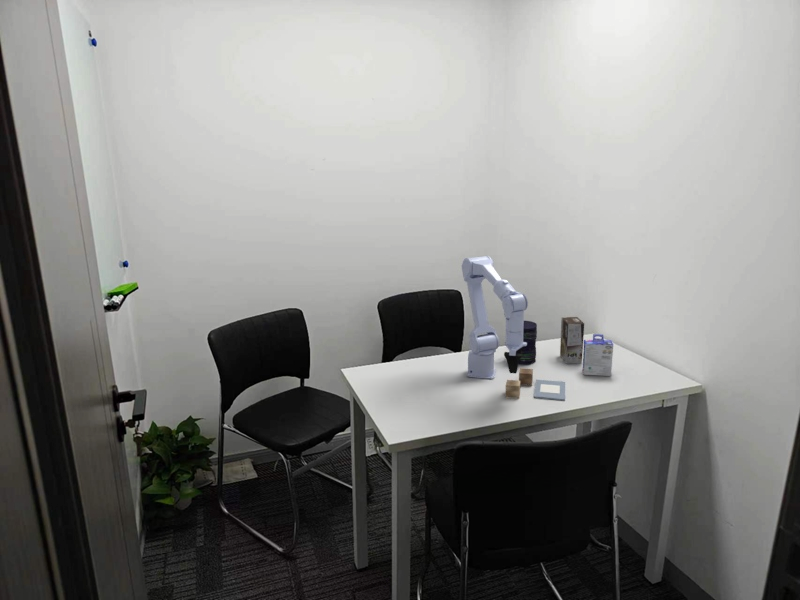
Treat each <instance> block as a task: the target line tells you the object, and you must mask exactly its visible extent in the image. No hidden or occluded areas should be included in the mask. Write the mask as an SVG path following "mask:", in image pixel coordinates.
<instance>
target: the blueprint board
mask: <svg viewBox="0 0 800 600" xmlns="http://www.w3.org/2000/svg"><path fill="white" fill-rule="evenodd" d="M533 398H534V399H540V400H541V399H542V400H553V401H561V402H562V401H563V402H564V401H566V381H559V380H545V379H536V380H535V386H534V394H533Z"/></svg>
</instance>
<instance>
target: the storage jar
mask: <svg viewBox="0 0 800 600" xmlns="http://www.w3.org/2000/svg"><path fill="white" fill-rule="evenodd" d="M537 327H538V325H537V323H536V322H534V321H531V320H524V326H523V342H526V343H527V346H524V347H523V349H522V351H521V354H522V356H521V358H520V360H519V364H518V366H519V365H520V366H521V365H522V366H530V365H533V364H535V363H536V361H537V360H536V357H537V347H536V345H537V343H536V341H537V337H538V336H537V335H538V331H537V330H538V329H537Z"/></svg>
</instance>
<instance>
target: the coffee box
mask: <svg viewBox="0 0 800 600" xmlns="http://www.w3.org/2000/svg"><path fill="white" fill-rule="evenodd" d="M560 323H561V324H560V346H559V347H560V348H559V350H560V351H559V356H560V357H561V358H562V359H563V361H564V362H565V363H566V364H583V352H584V337H585V336H584V335H585V334H584V333H585V323H584V321H583V320H581V319H580V318H579V317H578V316H567V317H561V321H560Z"/></svg>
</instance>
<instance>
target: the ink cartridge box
mask: <svg viewBox="0 0 800 600" xmlns="http://www.w3.org/2000/svg"><path fill="white" fill-rule="evenodd" d="M597 337H600V338H597ZM613 352H614V343H613V341H612V340H611V339H605V338H604V334H598V333H597V334H595V333H594V334H592V339H583V353H582V369H581V370H582V374H583V375H585V376H603V377H605V376H606V377H612V368H613V355H614V354H613Z"/></svg>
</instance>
